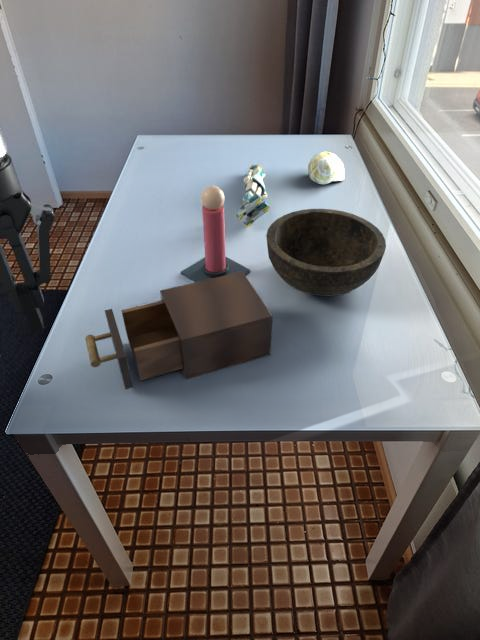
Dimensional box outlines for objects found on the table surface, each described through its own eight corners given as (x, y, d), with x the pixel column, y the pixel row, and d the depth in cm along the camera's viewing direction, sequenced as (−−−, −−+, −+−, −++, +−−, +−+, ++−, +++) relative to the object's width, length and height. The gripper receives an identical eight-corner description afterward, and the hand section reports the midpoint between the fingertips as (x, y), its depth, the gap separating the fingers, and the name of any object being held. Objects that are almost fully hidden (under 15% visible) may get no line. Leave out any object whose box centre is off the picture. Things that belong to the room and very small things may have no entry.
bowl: (343, 242, 104) (350, 201, 97) (397, 303, 89) (410, 258, 82) (249, 261, 99) (250, 218, 92) (290, 328, 83) (294, 282, 77)
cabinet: (185, 379, 75) (181, 340, 69) (165, 328, 83) (159, 290, 78) (270, 355, 79) (272, 316, 73) (242, 309, 87) (242, 271, 82)
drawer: (99, 397, 71) (89, 366, 66) (88, 346, 79) (79, 316, 74) (209, 365, 76) (207, 334, 71) (189, 321, 83) (186, 290, 79)
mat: (180, 273, 95) (180, 271, 95) (215, 253, 101) (215, 251, 101) (215, 294, 90) (215, 292, 90) (250, 272, 96) (250, 269, 95)
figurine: (254, 192, 101) (260, 146, 125) (228, 216, 105) (238, 167, 129) (276, 215, 104) (278, 166, 128) (250, 237, 108) (256, 186, 132)
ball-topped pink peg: (207, 280, 93) (202, 196, 81) (199, 266, 96) (193, 183, 84) (232, 274, 94) (231, 191, 82) (223, 260, 98) (221, 178, 86)
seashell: (342, 167, 131) (350, 141, 122) (342, 196, 128) (351, 172, 119) (305, 164, 131) (311, 138, 122) (304, 193, 128) (310, 169, 119)
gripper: (34, 138, 54) (82, 298, 70) (-94, 156, 51) (-13, 320, 66) (39, 163, 49) (89, 330, 65) (-103, 185, 45) (-14, 356, 61)
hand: (37, 325), depth 65 cm, fingers closed
